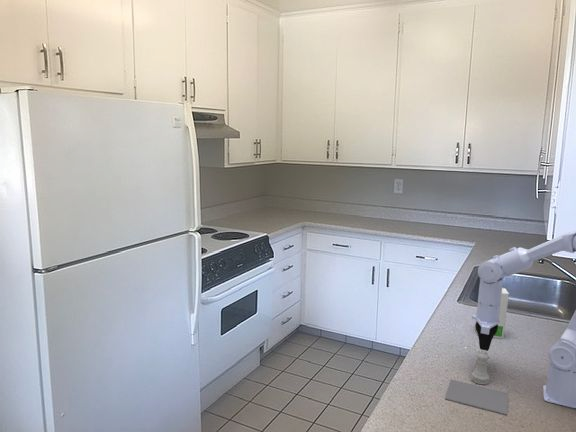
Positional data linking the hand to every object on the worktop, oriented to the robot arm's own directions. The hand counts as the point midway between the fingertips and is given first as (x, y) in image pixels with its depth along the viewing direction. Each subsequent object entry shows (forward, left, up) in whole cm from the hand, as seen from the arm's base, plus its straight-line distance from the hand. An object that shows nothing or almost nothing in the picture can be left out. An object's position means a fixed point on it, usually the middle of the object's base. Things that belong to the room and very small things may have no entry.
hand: (484, 349), depth 131 cm
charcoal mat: (0, +16, -6) cm, 17 cm away
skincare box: (0, -28, -6) cm, 29 cm away
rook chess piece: (0, +7, -6) cm, 9 cm away
